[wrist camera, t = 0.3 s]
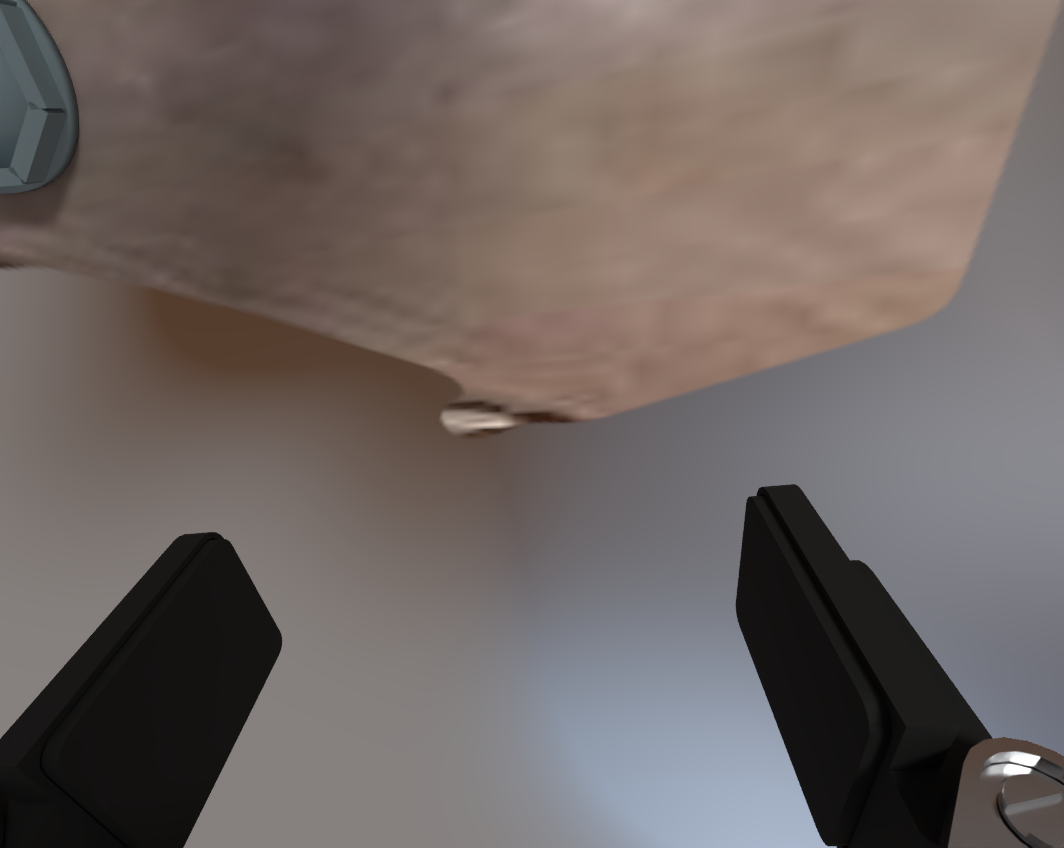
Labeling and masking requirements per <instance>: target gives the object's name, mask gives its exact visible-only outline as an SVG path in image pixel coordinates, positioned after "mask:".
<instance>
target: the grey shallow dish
mask: <svg viewBox="0 0 1064 848" xmlns="http://www.w3.org/2000/svg"><path fill="white" fill-rule="evenodd" d="M78 129H79V120H78V108H77V101H76V95H75V92H74V88H73V84H72V81H71V78H70V75H69V72H68V70H67V67H66V64H65V62H64V60H63V58H62V56H61V53H60V51H59V49H58V47H57V45H56V43H55V42H54V40H53V38H52V37H51V35H50V33H49V31H48V30H47V28H46V26H45V25H44V23H43V22H42V21H41V19H40V18H39V16H38V15H37V14H36V12H35V11H34V9H33V8H32V7H31V6H30V4H29V3H28V2H27V1H26V0H0V194H12V193H19V192H26V191H32V190H36V189H39V188H41V187H44V186H46V185H48V184H49V183H51V182H53V181H54V180H56V179H57V178H58V177H59V176H60V175H61V174H62V173H63V172H64V170H65V169H66V168H67V166H68V165H69V163H70V161H71V159H72V157H73V154H74V152H75V148H76V144H77V140H78Z"/></svg>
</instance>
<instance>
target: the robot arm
mask: <svg viewBox="0 0 1064 848" xmlns="http://www.w3.org/2000/svg"><path fill="white" fill-rule="evenodd" d="M736 613H737V618H738V622H739V625H740V628H741V631H742V633H743V636H744V639H745V641H746V644H747V647H748V649H749V652H750V655H751V657H752V660H753V662H754V665H755V668H756V670H757V673H758V676H759V678H760V681H761V683H762V686H763V689H764V691H765V694H766V696H767V699H768V701H769V704H770V707H771V710H772V712H773V714H774V718H775V720H776V723H777V725H778V728H779V731H780V733H781V736H782V739H783V741H784V744H785V746H786V749H787V752H788V754H789V757H790V760H791V762H792V765H793V767H794V770H795V773H796V775H797V778H798V781H799V783H800V786H801V788H802V791H803V794H804V796H805V799H806V801H807V804H808V807H809V809H810V812H811V815H812V817H813V820H814V823H815V825H816V828H817V830H818V832H819V835H820V837H821V838H822V840H823V842H824V843H825V844H826V845H827V846H837V848H1064V756H1062V755H1061V754H1059V753H1057V752H1055V751H1053V750H1051V749H1048V748H1045V747H1043V746H1040V745H1037V744H1034V743H1032V742H1029V741H1025V740H1019V739H1012V738H1006V737H1002V738H994V739H993V738H992V737H991V735H990V734H989V733H988V731H987V730H986V728H985V727H984V726H983V724H982V723H981V721H980V720H979V719H978V717H977V716H976V714H975V713H974V712H973V710H972V709H971V707H970V706H969V705H968V703H967V702H966V700H965V699H964V698H963V696H962V695H961V694H960V692H959V691H958V689H957V688H956V687H955V685H954V684H953V682H952V681H951V680H950V678H949V677H948V675H947V674H946V673H945V671H944V670H943V669H942V667H941V666H940V664H939V663H938V662H937V660H936V659H935V657H934V656H933V655H932V653H931V652H930V650H929V649H928V648H927V646H926V645H925V643H924V642H923V641H922V640H921V638H920V637H919V635H918V634H917V632H916V631H915V630H914V628H913V627H912V626H911V624H910V623H909V621H908V620H907V618H906V617H905V616H904V614H903V613H902V612H901V610H900V609H899V607H898V606H897V605H896V603H895V602H894V600H893V599H892V598H891V596H890V595H889V593H888V592H887V591H886V589H885V588H884V587H883V585H882V584H881V582H880V581H879V580H878V578H877V577H876V575H875V574H874V573H873V571H872V570H871V569H870V568H869V567H868V566H867V565H866V564H865V563H863V562H861V561H859V560H851V561H850V560H849V558H848V557H847V556H846V554H845V553H844V551H843V550H842V548H841V547H840V545H839V544H838V542H837V541H836V540H835V538H834V537H833V536H832V534H831V532H830V531H829V529H828V528H827V526H826V525H825V524H824V522H823V521H822V519H821V518H820V516H819V515H818V513H817V512H816V510H815V509H814V507H813V506H812V505H811V503H810V502H809V500H808V499H807V497H806V496H805V494H804V493H803V491H802V490H801V489H800V488H799V487H798V486H797V485H795V484H792V485H782V486H781V485H780V486H769V487H761V488H759V490H758V492H757V496H751V497H748V499H747V503H746V512H745V522H744V531H743V540H742V550H741V560H740V569H739V578H738V587H737V598H736ZM281 647H282V636H281V633H280V631H279V629H278V627H277V625H276V623H275V622H274V620H273V618H272V616H271V615H270V613H269V611H268V609H267V607H266V605H265V604H264V602H263V600H262V598H261V596H260V595H259V593H258V591H257V589H256V587H255V585H254V584H253V582H252V580H251V578H250V576H249V575H248V573H247V571H246V569H245V567H244V566H243V564H242V562H241V560H240V559H239V557H238V555H237V553H236V551H235V549H234V547H233V546H232V544H231V543H230V542H229V541H228V540H226V539H224V538H223V537H222V536H221V535H220V534H218V533H216V532H208V533H196V534H184V535H182V536H179V537H178V538H177V539H176V540H175V541H173V543H172V544H171V545H170V546H169V547H168V548H167V550H166V551H165V552H164V553H163V554H162V555H161V556H160V557H159V559H158V560H157V561H156V562H155V563H154V565H152V567H151V568H150V569H149V570H148V571H147V572H146V573H145V575H144V576H143V577H142V578H141V579H140V580H139V582H137V584H136V585H135V586H134V587H133V588H132V589H131V591H130V592H129V593H128V594H127V595H126V596H125V597H124V598H123V600H122V601H121V602H120V603H119V604H118V605H117V607H116V608H115V609H114V610H113V611H112V612H111V613H110V614H109V616H108V617H107V618H106V619H105V620H104V621H103V622H102V624H101V625H100V626H99V627H98V628H97V629H96V631H95V632H94V633H93V634H92V635H91V636H90V637H89V638H88V640H87V641H86V642H85V643H84V644H83V645H82V646H81V647H80V649H79V650H78V651H77V652H76V653H75V654H74V656H73V657H72V658H71V659H70V660H69V661H68V662H67V663H66V665H65V666H64V667H63V668H62V669H61V670H60V671H59V673H58V674H57V675H56V676H55V677H54V678H53V679H52V681H51V682H50V683H49V684H48V685H47V686H46V687H45V689H44V690H43V691H42V692H41V693H40V694H39V696H38V697H37V698H36V699H35V700H34V701H33V702H32V703H31V705H30V706H29V707H28V708H27V709H26V710H25V712H24V713H23V714H22V715H21V716H20V717H19V718H18V719H17V720H16V722H15V723H14V724H13V725H12V726H11V727H10V728H9V730H8V731H7V732H6V733H5V734H4V735H3V736H2V738H1V739H0V848H183V847H184V845H185V843H186V841H187V839H188V837H189V835H190V833H191V831H192V829H193V827H194V825H195V823H196V821H197V819H198V817H199V815H200V813H201V811H202V809H203V807H204V805H205V803H206V801H207V799H208V797H209V795H210V793H211V791H212V789H213V787H214V785H215V783H216V781H217V779H218V777H219V775H220V773H221V771H222V769H223V767H224V765H225V762H226V761H227V758H228V756H229V754H230V752H231V750H232V748H233V746H234V744H235V742H236V740H237V738H238V736H239V734H240V732H241V730H242V728H243V726H244V724H245V722H246V720H247V718H248V716H249V714H250V712H251V710H252V708H253V706H254V704H255V702H256V700H257V698H258V696H259V694H260V692H261V690H262V688H263V686H264V684H265V682H266V680H267V678H268V676H269V674H270V672H271V670H272V668H273V666H274V664H275V662H276V660H277V658H278V656H279V653H280V651H281Z"/></svg>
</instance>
